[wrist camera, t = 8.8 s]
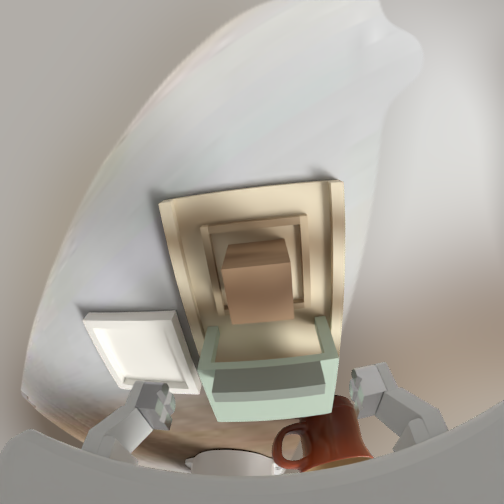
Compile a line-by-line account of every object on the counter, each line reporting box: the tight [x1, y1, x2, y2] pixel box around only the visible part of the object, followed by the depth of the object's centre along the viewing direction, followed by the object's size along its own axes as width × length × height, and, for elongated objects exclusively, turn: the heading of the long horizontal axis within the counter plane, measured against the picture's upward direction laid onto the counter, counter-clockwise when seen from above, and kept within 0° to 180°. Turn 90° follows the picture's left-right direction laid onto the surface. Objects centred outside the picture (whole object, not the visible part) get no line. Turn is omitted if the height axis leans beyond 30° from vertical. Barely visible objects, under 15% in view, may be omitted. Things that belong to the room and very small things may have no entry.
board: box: [159, 180, 345, 362], centre depth 24 cm, size 22×14×1 cm, turn 7°
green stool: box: [197, 316, 339, 422], centre depth 22 cm, size 8×11×8 cm
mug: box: [272, 395, 374, 473], centre depth 26 cm, size 12×9×10 cm
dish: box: [82, 310, 202, 394], centre depth 27 cm, size 11×11×2 cm
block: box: [221, 239, 294, 325], centre depth 20 cm, size 4×4×4 cm
